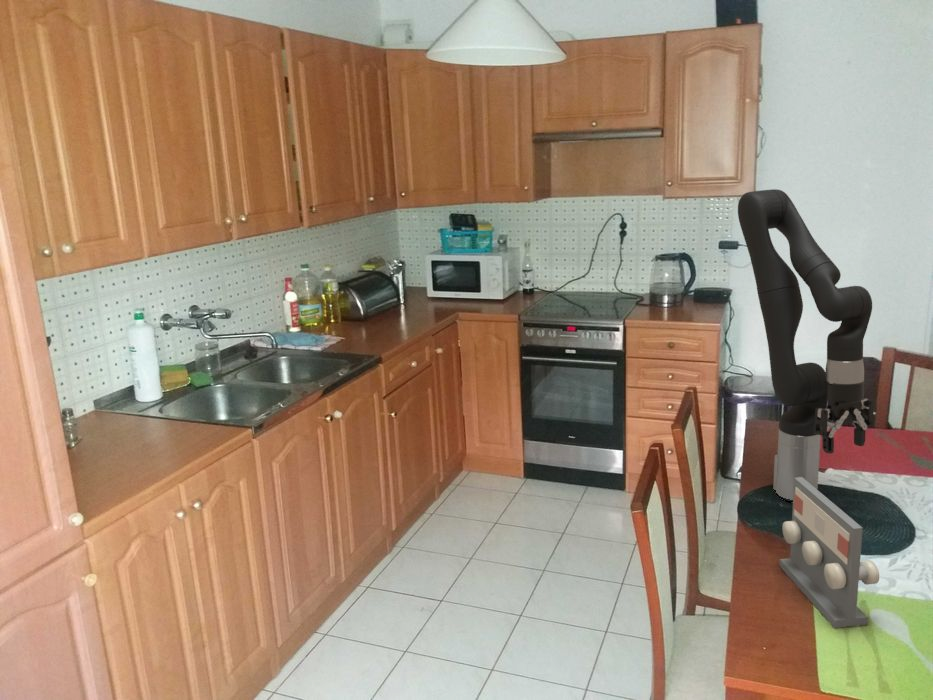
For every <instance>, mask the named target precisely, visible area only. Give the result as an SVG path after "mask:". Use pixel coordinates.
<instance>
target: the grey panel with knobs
mask: <svg viewBox="0 0 933 700" xmlns="http://www.w3.org/2000/svg"><path fill="white" fill-rule="evenodd" d="M791 513H792V515H791V517H792V518H791V521H795V522H796V523H797V524H798V525H799V526H800V527H801V528H802V538H801V540H800V542H799V543H795V544H790V555H789V557H788V558H780V559H779V565H778V566H779V567H780V569H781V570H783V572H784V573H785V574H786V575H787V577H788V578H790V580H791V581H792V582H793V584H795V585H796V587H797V588H798V589H799V590H800V592H801V593H803V594H804V596H805V597H806V598H807V599H808V601H809V602H810V603H811V604H812V605H813V606H814V607H815V608H816V609H817V610H818V611H819V612H820V614H821V615H822V616H823V617H824V618H825V620H826V621H828V623H829V622H830V623H831V624H830V623H829V624H830V625H831V626H832V627H833V628H834V629H840V628H839V627H843V628H847V627H846V626H853V627H858V626H857V625H862V626H868V616H867V615H866V614H865V613H864V612H863V611H862V610H861V608H860V607H858V606H857V605H858V593H859V582H860V581H859V569H860V562H861V554H862V553H861V552H862V543H863V541H862V540H863V529H864V528H863V527H862V526H861V524H859V523H857V522H856V520H854V519H853V518H852V517H851V516H849V515H848V514H847V513H846V512H844V511H843V509H841V508H840V507H839V506H837V505H836V504H835V503H834V502H832V501H831V500H830V499H829V498H828V497H827V496H825V495H824V494H823V493H822V492H821V491H819V490H818V488H817V489H816V488H815V487H813V486H812V485H811V484H810V483H809V482H807V481H806V480H805V479H804V478H803V477H797V478H794V493H793V502H792V512H791ZM805 541H816V542H817V543H818V544H819V546H820V547H822V548H823V559H822V562H821V564H819V565H808V564H807V563H806V561H805V559H804V557H803V552H802V545H803V543H804V542H805ZM830 563H839V564H840V565H841V566H842V568H843V569H844V570H845V571H846V572H847V581H846V585H845V587H844V588H840V589H831V588H830V587H829V585H828V584H827V582H826V579H825V575H824V567H825V565H826V564H830Z"/></svg>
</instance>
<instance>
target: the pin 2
mask: <svg viewBox="0 0 933 700" xmlns="http://www.w3.org/2000/svg"><path fill="white" fill-rule="evenodd" d="M824 575H825V579H826V582H827V584H828V585H829V587H830V588H831V589H840V588H844V587H845V585H846V581H847V572H846V571H845V570H844V569H843V568H842V566H841V565H840V564H839V563H830V564H826V565H825V567H824ZM860 581H861V582H862V583H863V584H864V585H876V584H878V583H879V581H880V571H879V568H878V566H877V565H876V563H875V562H874V561H873V560H863V561H861V560H860V569H859V582H860Z"/></svg>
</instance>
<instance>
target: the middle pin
mask: <svg viewBox="0 0 933 700" xmlns="http://www.w3.org/2000/svg"><path fill="white" fill-rule="evenodd" d="M802 552H803V557H804V559H805V561H806V563H807V564H808V565H819V564H821V562H822V559H823V548H822V547H820V546H819V544H818V543H817V542H816V541H805V542H804V543H803V545H802Z"/></svg>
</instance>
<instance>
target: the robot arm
mask: <svg viewBox="0 0 933 700" xmlns="http://www.w3.org/2000/svg"><path fill="white" fill-rule="evenodd" d="M739 198H740V199H739V200H738V204H737V217H738V221H739V226H740V228H741V231H742V232H741V233H742V235H743V239H744V242H745V244H746V248H747V251H748V255H749V257H750V263H751V266H752V270H753V275H754V280H755V285H756V290H757V291H756V292H757V296H758V302H759V307H760V310H761V314H762V319H763V323H764V328H765V334H766V342H767V347H768V355H769V367H770V374H771V376H770V377H771V382H772V388H773V391H774V394H775V396H776V398H777V400H778V401H779V402H780V403H781V404H782V405H783V406H786V407H790V408H789V409H788V410H786V411H785V412H784V413H782V414H781V416H779V420H778V439H777V440H778V441H777V443H778V444H777V454H774V461H773V462H774V463H773V464H774V465H773V486H772V487H773V488H772V490H773V489H774V490H776V492H775V494H776V493H777V494H778V495H779V496H781V497H783V498H786V499H790V500H793V493H794V478H797V477H803V478H804V479H805V480H806V481H807V482H809V483H810V484H811V485H812V486H813V487H815V488H816V489H817V490H818V485H819V484H818V483H819V473H820V472H819V470H820V453H821V443H822V450H823V451H824V453H827V454H829V455H831V454H833V453H835V451H834V449H835V447H834V446H835V445H834V444H835V437H834V435H835V433H836V432H837V431H838V430H839V429H840V428H841V426H843V425H847V424H852V425H853V427H855V428H853V443H854V446H857V447H864V446H865V442H866V430H867V429H868V427H870V426H871V427H872V426H873V425H874V424H875V423H874V422H875V420H874V418H875V417H874V401H873V399H872V400H871V399H868V398H864V397H865V396H864V394H865V365H864V338H865V335H866V333H867V329H868V327H869V323H870V320H871V316H872V311H873V300H872V297H871V294H870V292H869V291H868V290H867V288H865V287H863V286H861V285H852V286H851V285H850V286H846V287H845V286H844V287H839V288H838V287H837V286H836V285H837V284H838V282H839V281H840V279H841V271H840V269H839V267H837V265H836V264H835V263H834V262H833V261H832V260H831V258H830V257H829V256H828V255H827V254H826V253H825V252H824V251H823V249H822V248H821V247H820V246H819V244H818V243H817V242H816V239H814V236H813V235H812V234H811V232H810V230H809V228H808V227H807V225H806V223H805V221H804V220H803V218H802V216H801V215H800V212H799V211H798V208H796V206H795V204H794V202H793V200H792V199H791V198H790V197H789V195H788V194H787V193H786V192H784V191H783V190H781V189H775V188H774V189H763V190H754V191H753V190H752V191H748V192H745V193H743V194H742V195H741V197H739ZM770 229H771V230H772V229H776V230H777V231H779V232H780V233H781V234H782V235H783V236H784V237H785V238H786V240H787V243H788V246H789V258H790V262H791V265H792V267H793V269H794V270H795V272H796V273H797V274H798V275H799V277H800V278H801V279H802V281H804V283H805V285H807V287H808V288H809V290H810V293H811V296H812V298H813V300H814V303H815V306H816V308H817V311H818V312H819V314H820V315H821V316H823V318H824V319H825V320H826V319H827V320H828V321H829V322H833V323H834V322H835V323H836V322H838V323H839V322H841V323H840V325H839V327H838V328H837V329H835V330H833V331H832V332H829V334H828V336H827V338H826V364H825V369H824V367H823V366H821V365H820V364H818V363H817V362H804V363H799V364H797V360H796V355H795V339H796V334H797V331H798V328H799V326H800V322H801V318H802V315H803V311H804V303H803V297H802V292H801V287H800V283H799V280H798V278H797V276H796V274H795V272H794V271H793V269H791V267H790V266H789V265H788V264H787V262H785V260H784V259H783V258H782V256H780V254H779V253H778V251H777V250H776V247H774V244H773V241H772V238H771V235H770V234H771V233H770V231H769V230H770ZM821 438H822V442H821ZM774 490H773V491H774Z"/></svg>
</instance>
